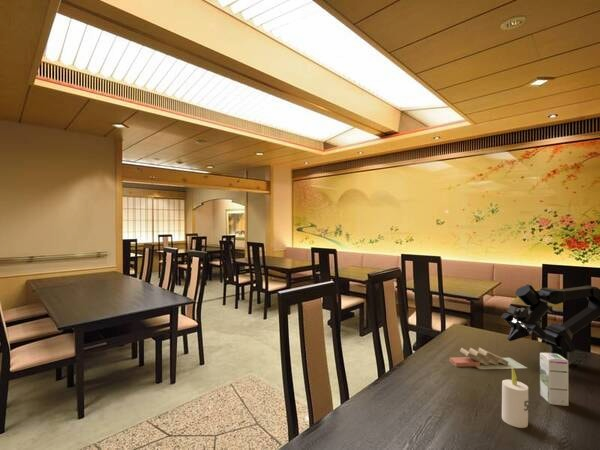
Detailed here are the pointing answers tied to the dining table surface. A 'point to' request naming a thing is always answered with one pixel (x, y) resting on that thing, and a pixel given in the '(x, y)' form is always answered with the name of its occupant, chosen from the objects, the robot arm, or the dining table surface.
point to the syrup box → (554, 378)
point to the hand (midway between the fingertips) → (508, 340)
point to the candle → (515, 402)
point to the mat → (502, 365)
